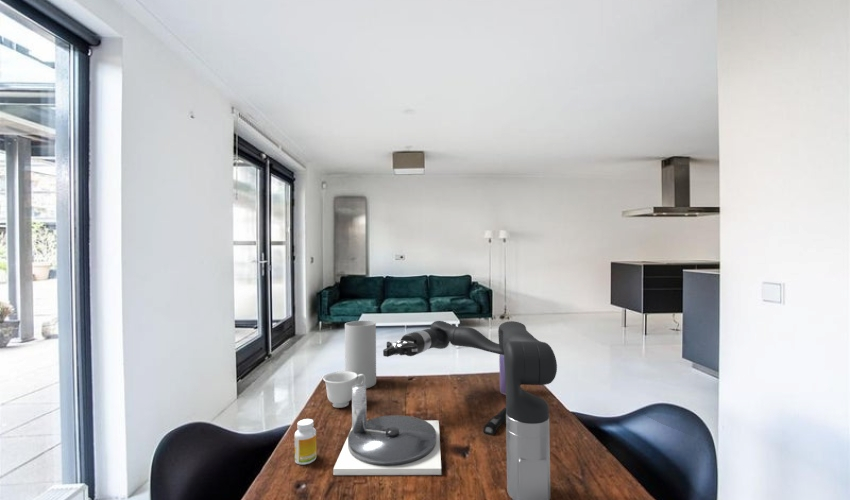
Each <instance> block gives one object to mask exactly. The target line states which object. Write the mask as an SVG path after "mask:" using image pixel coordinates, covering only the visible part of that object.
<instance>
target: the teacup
mask: <svg viewBox="0 0 850 500" xmlns="http://www.w3.org/2000/svg"><path fill="white" fill-rule="evenodd" d="M360 377H363V381H362V383H361V384H360V385H364V383H365V380H366V379H365V376H364V375H363V374H359V375H357V374H356V373H354V372H349V371H345V370H342V371H341V370H339V371H333V372H330V373H327V374H326V375H324V376H323V378H322V380H323V381H324V383H325V388H326V396H327V399H328V401H329V402H330V403H332V407H333V408H338V409H339V408H341V409H342V408H345V407H348V406H349V404H350V402H351V401H352V386H354V385H355V381H358V380H359V378H360Z"/></svg>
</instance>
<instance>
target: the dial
mask: <svg viewBox="0 0 850 500" xmlns="http://www.w3.org/2000/svg"><path fill="white" fill-rule="evenodd" d="M426 421H427V420H425V419H422V418H419V417H416V416H411V415H404V414H403V415H400V414H399V415H397V414H396V415H393V414H392V415H391V414H390V415H383V416H378V417H373V418H371V419H367V388H366V386H365V385H354V386H352V399H351V428H352V430H351V429H350V431H351V432H350V431H349V433H348V435H349V436H348V435H347V437H348V449H349V452H350V453H351V454H352V456H354V457H355V458H356V459H358V460H360V461H362V462H365V463H368V464H372V465H379V466H396V465H403V464H408V463H412V462H414V461H417V460H419V459H422V458H423V457H425V456H427V455H428V454H429V453H430V452H431V451H432V450H433V449H434V447H435V445H436V431H435V429H434V427H433V426H432V425H431V424H430V423H428V422H426Z"/></svg>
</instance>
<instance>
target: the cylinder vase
mask: <svg viewBox="0 0 850 500" xmlns="http://www.w3.org/2000/svg"><path fill="white" fill-rule="evenodd" d="M376 324H377V323H376V322H375V321H371V320H354V321H348V322H346V323H344V371H349V372H354V373H356V374H357V375H359V374H363V375H364V376H365V379H366V380H365V383H364V385H365V386H366V389H369V388H372V387H374V386H375V385H376V384H377V327H376V326H377V325H376ZM362 381H363V377H360V378H359V380H358V381H355V385H360V384H361V383H362Z"/></svg>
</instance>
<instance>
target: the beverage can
mask: <svg viewBox="0 0 850 500" xmlns="http://www.w3.org/2000/svg"><path fill="white" fill-rule="evenodd" d="M498 355H499V356H498V357H499V360H498V361H499V362H498V363H499V392H500V394H503V395H505V396H506V379H505V366H504V355H500V354H498Z"/></svg>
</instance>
